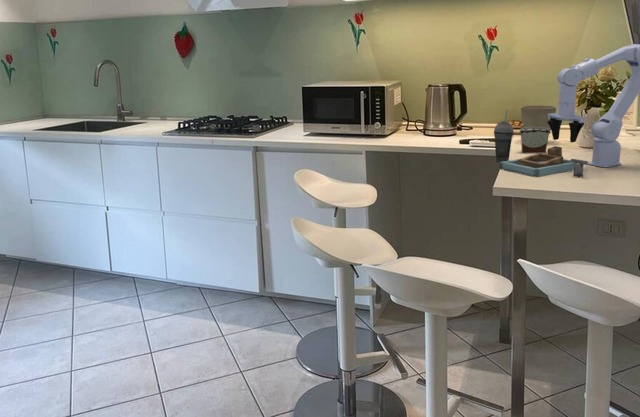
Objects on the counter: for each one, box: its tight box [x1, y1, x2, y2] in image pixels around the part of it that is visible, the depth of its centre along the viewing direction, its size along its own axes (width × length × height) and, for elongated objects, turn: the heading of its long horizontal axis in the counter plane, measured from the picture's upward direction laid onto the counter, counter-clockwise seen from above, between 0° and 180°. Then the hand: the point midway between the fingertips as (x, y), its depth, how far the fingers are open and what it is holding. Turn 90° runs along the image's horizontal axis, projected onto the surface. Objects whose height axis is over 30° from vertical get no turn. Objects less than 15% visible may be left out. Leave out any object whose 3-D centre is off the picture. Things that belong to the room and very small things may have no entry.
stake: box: [570, 158, 589, 178], centre depth 215 cm, size 3×6×6 cm, turn 30°
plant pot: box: [520, 104, 558, 132], centre depth 279 cm, size 15×15×16 cm
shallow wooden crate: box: [518, 145, 564, 168], centre depth 229 cm, size 15×11×4 cm
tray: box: [499, 158, 574, 178], centre depth 228 cm, size 22×17×2 cm
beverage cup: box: [493, 109, 514, 164], centre depth 240 cm, size 7×7×20 cm
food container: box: [519, 127, 552, 154], centre depth 260 cm, size 12×6×10 cm, turn 85°
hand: (564, 140), depth 229 cm, fingers open, 7 cm apart
